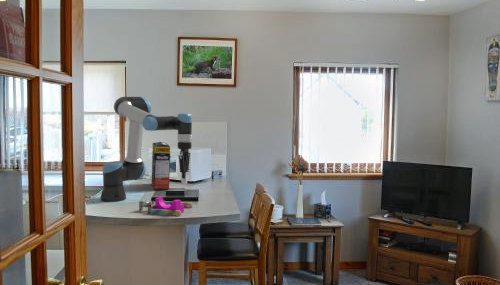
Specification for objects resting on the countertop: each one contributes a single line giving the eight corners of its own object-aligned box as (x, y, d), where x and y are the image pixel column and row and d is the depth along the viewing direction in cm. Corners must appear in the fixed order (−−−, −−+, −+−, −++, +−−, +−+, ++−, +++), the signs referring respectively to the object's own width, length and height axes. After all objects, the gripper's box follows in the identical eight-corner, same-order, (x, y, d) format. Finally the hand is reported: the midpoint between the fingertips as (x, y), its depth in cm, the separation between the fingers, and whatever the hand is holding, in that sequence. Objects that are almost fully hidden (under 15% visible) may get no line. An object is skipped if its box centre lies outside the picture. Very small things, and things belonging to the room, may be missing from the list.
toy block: (183, 212, 230) (183, 199, 229) (176, 215, 225) (176, 201, 224) (163, 209, 238) (162, 196, 237) (155, 211, 232) (155, 198, 232)
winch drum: (138, 210, 232) (138, 202, 232) (142, 209, 237) (142, 200, 236) (150, 211, 231) (150, 202, 230) (153, 209, 235) (153, 200, 235)
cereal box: (169, 190, 291) (171, 144, 289) (153, 190, 288) (154, 144, 286) (166, 183, 317) (167, 141, 314) (150, 183, 313) (151, 141, 311)
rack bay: (148, 213, 226) (147, 208, 226) (162, 205, 246) (162, 200, 246) (180, 215, 223) (180, 210, 222) (192, 207, 242) (192, 201, 242)
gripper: (187, 143, 222) (186, 186, 225) (195, 140, 235) (194, 181, 237) (173, 142, 224) (173, 185, 226) (182, 140, 236) (182, 181, 239)
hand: (184, 183), depth 232 cm, fingers closed
